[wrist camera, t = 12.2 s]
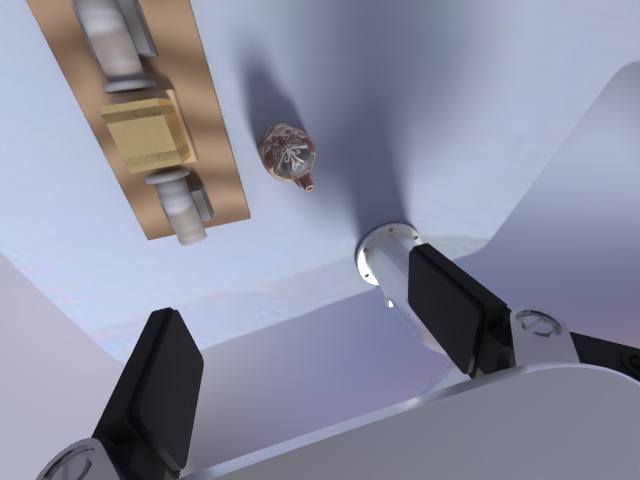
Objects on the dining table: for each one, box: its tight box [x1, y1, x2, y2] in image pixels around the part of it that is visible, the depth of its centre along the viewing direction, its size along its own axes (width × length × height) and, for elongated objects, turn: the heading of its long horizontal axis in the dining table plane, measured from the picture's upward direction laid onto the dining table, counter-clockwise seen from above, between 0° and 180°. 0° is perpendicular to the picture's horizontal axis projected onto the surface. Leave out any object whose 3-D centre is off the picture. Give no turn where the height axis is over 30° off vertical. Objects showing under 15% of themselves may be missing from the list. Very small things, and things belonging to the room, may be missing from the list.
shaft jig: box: [26, 0, 250, 246], centre depth 29 cm, size 26×14×8 cm, turn 8°
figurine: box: [259, 123, 316, 192], centre depth 32 cm, size 7×7×12 cm
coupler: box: [98, 98, 192, 173], centre depth 28 cm, size 6×5×5 cm
